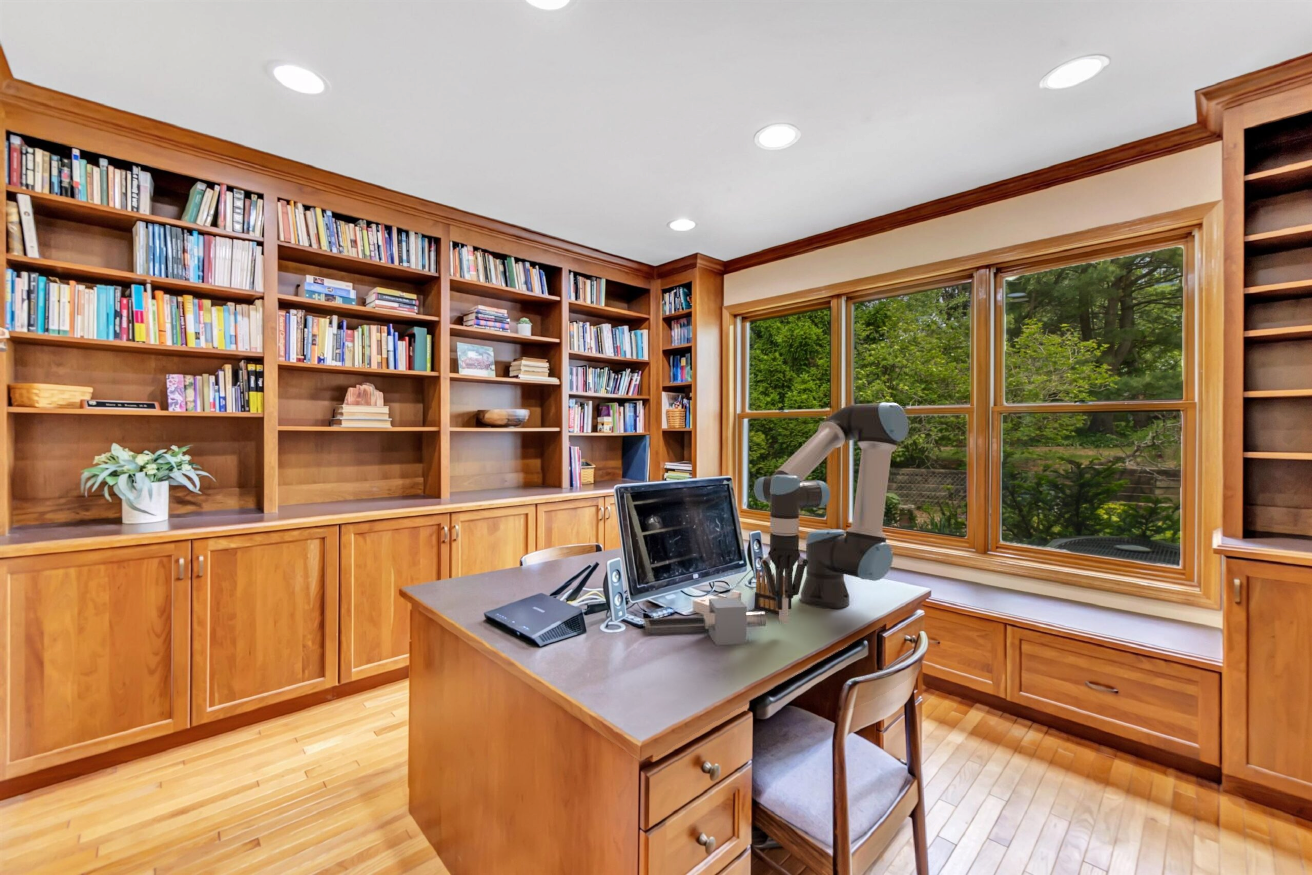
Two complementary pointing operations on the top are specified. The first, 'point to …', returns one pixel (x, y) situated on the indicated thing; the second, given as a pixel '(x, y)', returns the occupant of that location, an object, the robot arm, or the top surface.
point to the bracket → (703, 603)
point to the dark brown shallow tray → (674, 625)
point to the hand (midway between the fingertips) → (783, 621)
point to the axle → (752, 619)
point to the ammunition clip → (765, 595)
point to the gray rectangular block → (728, 621)
